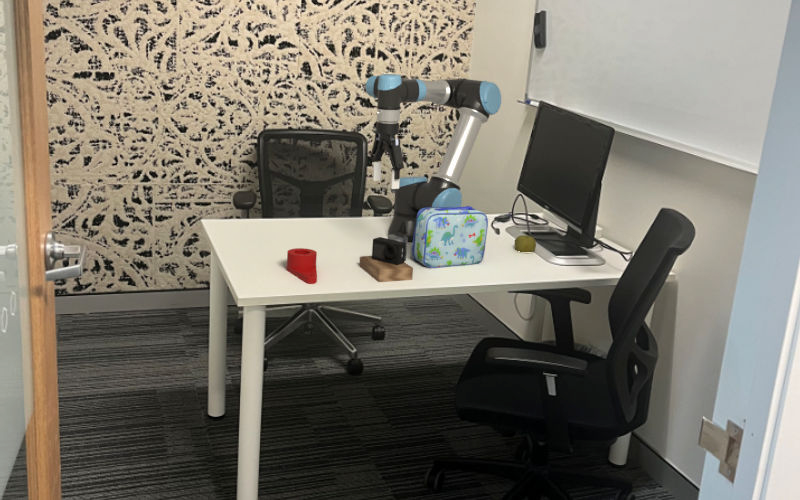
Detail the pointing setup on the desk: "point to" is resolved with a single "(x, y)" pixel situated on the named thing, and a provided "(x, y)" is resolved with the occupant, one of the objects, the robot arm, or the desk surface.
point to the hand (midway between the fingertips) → (385, 184)
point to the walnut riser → (385, 270)
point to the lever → (302, 264)
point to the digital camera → (388, 250)
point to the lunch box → (449, 236)
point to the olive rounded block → (525, 243)
